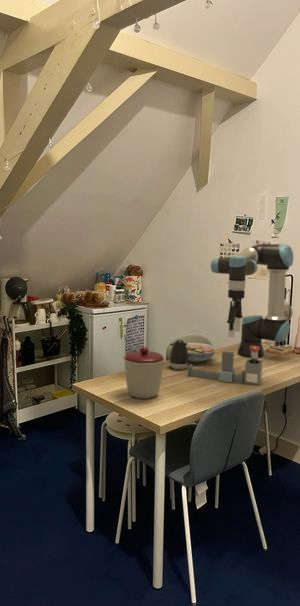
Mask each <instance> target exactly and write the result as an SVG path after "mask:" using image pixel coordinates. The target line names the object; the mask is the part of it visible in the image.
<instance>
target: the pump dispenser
mask: <svg viewBox="0 0 300 606" xmlns="http://www.w3.org/2000/svg"><path fill="white" fill-rule="evenodd" d="M173 343H174V344H173V345H171V346H172V347H171V350H170V353H169V359H168V362H169V364H170V366H171V368H172V369H175V370H184V369H186V368H188V366H189V365H188V364H189V363H190V361H189V356H188V351H187V347H186V345H187V343H188V342H185V341H184V340H182V339H177V340H175V341H174V342H173Z"/></svg>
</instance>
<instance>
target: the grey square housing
mask: <svg viewBox="0 0 300 606" xmlns="http://www.w3.org/2000/svg"><path fill="white" fill-rule="evenodd" d="M244 371H245V377H244V382H243V384H246V385H252V386H260V384H261V383H262V378H263V377H262V375H263V360H259V359H258V362H257V363H253V362H251V358H248V359H246V361H245V363H244Z"/></svg>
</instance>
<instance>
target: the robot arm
mask: <svg viewBox="0 0 300 606" xmlns="http://www.w3.org/2000/svg"><path fill="white" fill-rule="evenodd" d="M293 263H294V253H293V249H292V247H291V246H290V245H288V244H282V243H274V244H273V243H269V244H268V243H260V244H256V245H251V246H249V247H246V248H244V249H243V250H242V251H240V252H237V253H234V254H232V255H229V256H225V257H221V258H220V257H215V258H213V259H212V260H211V262H210V270H211V272H212V273H213V274H218V275H219V274H222V275H223V274H224V275H225V274H226V275H228V281H227V284H228V290H227V291H228V293H227V297H228V298H229V299H231V301H230V303H229V304H230V305H229V311H228V316H227V317H228V318H227V320H226V323H227V324H228V335H227V337H228V338H235V334H236V333H235V332H239V333H240V332H241V334H240V339H241V340H240V344H239V345H238V348H237V354H236V355H238V356H241V357H244V358H248V359H251V350H250V346H251V345H256V346H260V350H258V359H259V358H263V357H264V356H265V352H264V347H263V344H262V342H263V341H262V340H266V341H272V342H276V343H277V342H278V343H282V342H284V341H285V340H286V339H287V338H288V335H289V333H290V328H291V325H290V322H289V321H287V317H286V316H285V314H284V313H285V296H286V295H285V294H286V279H287V278H286V275H287V272H288V271H289V269H290V267H292V265H293ZM258 265H261V266H266V270H267V271H268V272H269V278H268V279H269V280H268V299H267V300H268V303H267V314H266V315H265V316H263V315H258V314H257V315H256V314H254V315H247V316H244V317H243V310H242V309H243V307H242V299H245V289H246V276H252V275H254V274H256V272H257V271H258V268H259V266H258ZM241 320H242V321H241Z"/></svg>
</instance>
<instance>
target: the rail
mask: <svg viewBox="0 0 300 606" xmlns="http://www.w3.org/2000/svg"><path fill="white" fill-rule="evenodd" d="M186 370H187V374H186V376H187V377H188V378H189V377H194V378H200V379H201V378H202V379H207V380H208V379H209V380H213V381H214V380H215V381H219V372H220V371H213V370H206V369H205V370H204V369H197V368H193V364H192V363H190V364H189V365H187V369H186ZM244 377H245V370H242V371H241V373H240V374H237V373H235V374H233V376H232V383H236V384H237V383H238V384H241V385H243V384H244Z"/></svg>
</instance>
